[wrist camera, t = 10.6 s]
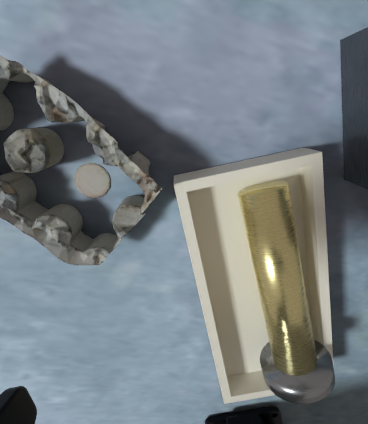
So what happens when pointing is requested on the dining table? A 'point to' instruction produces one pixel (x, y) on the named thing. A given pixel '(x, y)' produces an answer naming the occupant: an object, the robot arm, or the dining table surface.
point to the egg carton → (84, 177)
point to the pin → (283, 298)
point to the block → (355, 106)
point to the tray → (242, 262)
